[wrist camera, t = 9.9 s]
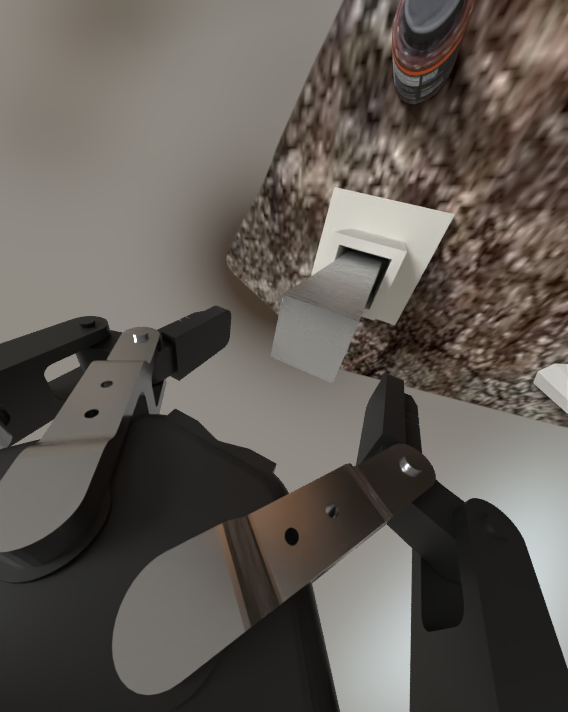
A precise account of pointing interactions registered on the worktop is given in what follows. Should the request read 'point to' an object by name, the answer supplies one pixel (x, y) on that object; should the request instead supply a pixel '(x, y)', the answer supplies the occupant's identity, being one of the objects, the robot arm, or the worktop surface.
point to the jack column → (324, 314)
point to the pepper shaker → (554, 383)
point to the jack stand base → (382, 245)
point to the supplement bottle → (427, 45)
